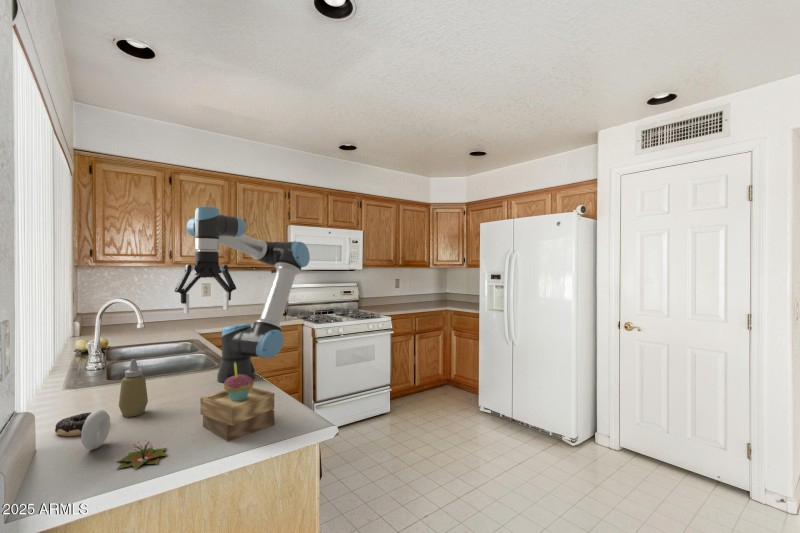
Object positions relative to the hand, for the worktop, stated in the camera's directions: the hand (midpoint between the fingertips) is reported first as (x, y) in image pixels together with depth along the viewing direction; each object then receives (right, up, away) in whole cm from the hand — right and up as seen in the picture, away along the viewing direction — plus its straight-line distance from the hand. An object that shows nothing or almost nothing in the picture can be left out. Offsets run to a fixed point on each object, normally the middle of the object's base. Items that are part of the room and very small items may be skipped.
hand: (206, 311), depth 140 cm
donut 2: (-14, -33, -33) cm, 49 cm away
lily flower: (+3, -34, -39) cm, 52 cm away
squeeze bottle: (-19, -33, -9) cm, 39 cm away
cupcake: (+19, -25, -18) cm, 36 cm away
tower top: (+19, -29, -18) cm, 39 cm away
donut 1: (-27, -33, -22) cm, 48 cm away
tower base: (+19, -34, -18) cm, 42 cm away
